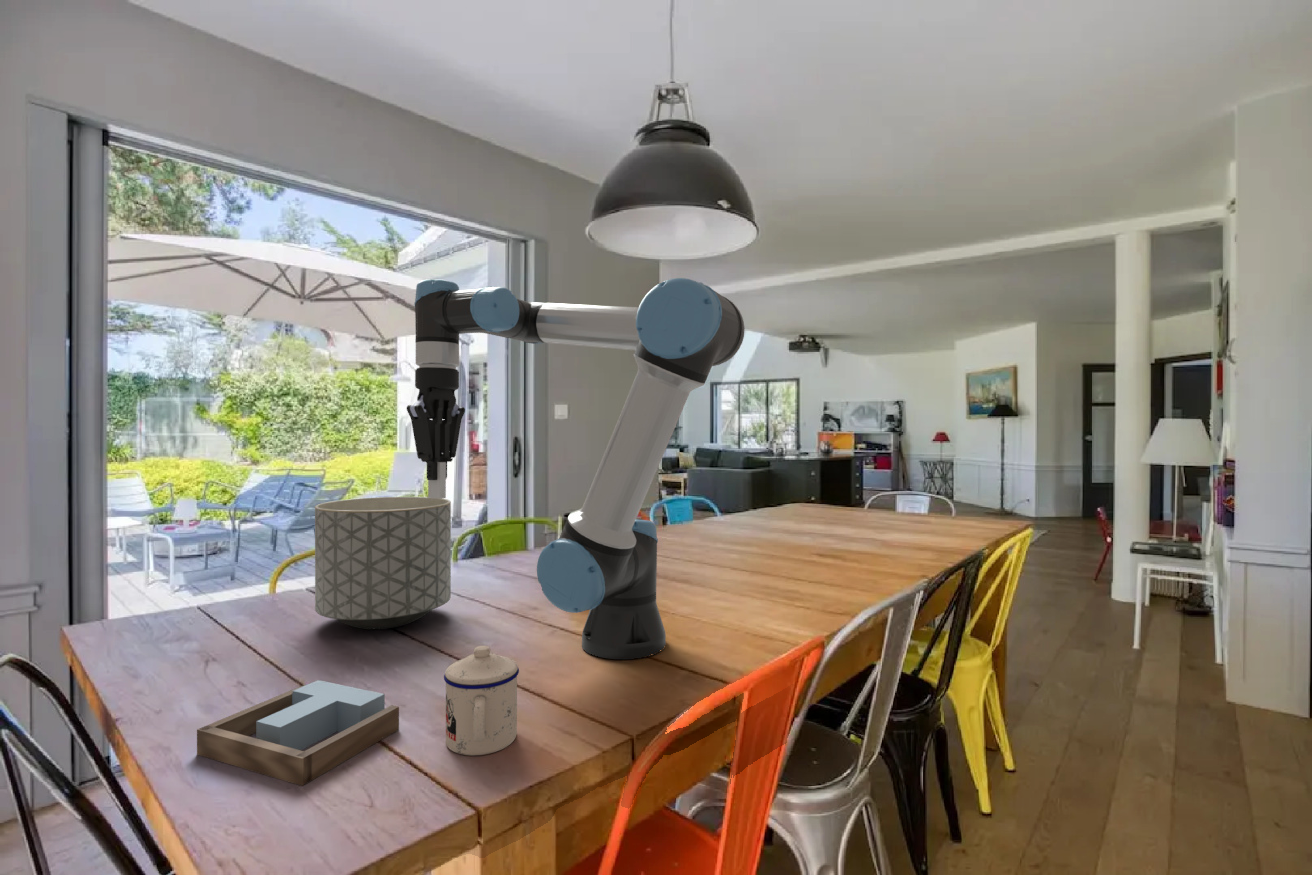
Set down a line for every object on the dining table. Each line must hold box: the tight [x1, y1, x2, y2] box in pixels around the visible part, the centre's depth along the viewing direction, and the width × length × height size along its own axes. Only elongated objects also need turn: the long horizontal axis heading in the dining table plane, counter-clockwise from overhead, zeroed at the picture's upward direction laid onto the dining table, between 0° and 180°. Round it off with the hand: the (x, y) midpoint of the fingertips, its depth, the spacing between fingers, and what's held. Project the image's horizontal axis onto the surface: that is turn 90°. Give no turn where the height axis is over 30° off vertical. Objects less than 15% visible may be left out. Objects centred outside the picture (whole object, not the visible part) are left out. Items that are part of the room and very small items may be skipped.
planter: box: [314, 496, 452, 630], centre depth 129 cm, size 25×25×24 cm
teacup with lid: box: [443, 645, 520, 756], centre depth 80 cm, size 12×9×12 cm
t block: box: [255, 679, 386, 751], centre depth 82 cm, size 12×12×4 cm
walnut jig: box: [196, 685, 400, 787], centre depth 80 cm, size 17×14×3 cm
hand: (436, 497), depth 117 cm, fingers closed
